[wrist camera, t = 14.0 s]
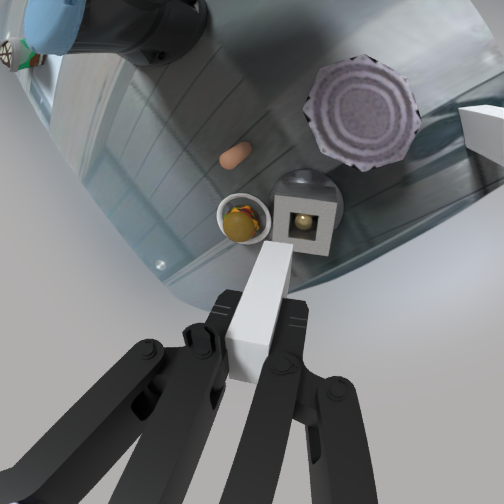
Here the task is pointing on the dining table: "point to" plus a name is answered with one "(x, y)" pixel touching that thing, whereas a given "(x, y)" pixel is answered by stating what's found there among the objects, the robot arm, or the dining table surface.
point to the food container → (19, 55)
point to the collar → (305, 202)
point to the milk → (484, 131)
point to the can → (362, 113)
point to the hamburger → (242, 220)
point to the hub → (310, 178)
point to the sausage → (235, 155)
